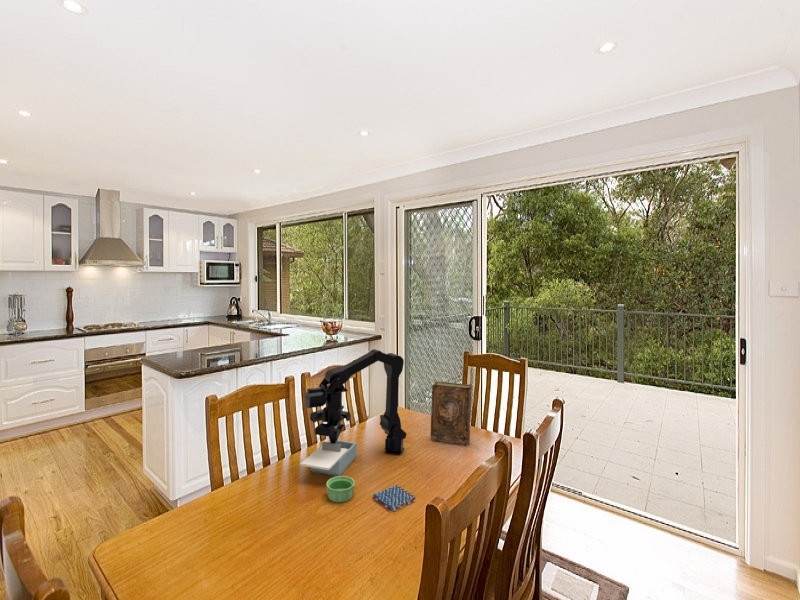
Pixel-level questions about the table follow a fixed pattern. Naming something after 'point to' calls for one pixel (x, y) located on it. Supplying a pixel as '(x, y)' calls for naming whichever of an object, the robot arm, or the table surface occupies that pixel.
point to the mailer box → (341, 459)
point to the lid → (325, 456)
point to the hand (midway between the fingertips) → (333, 445)
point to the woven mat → (393, 498)
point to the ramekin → (340, 488)
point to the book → (451, 413)
